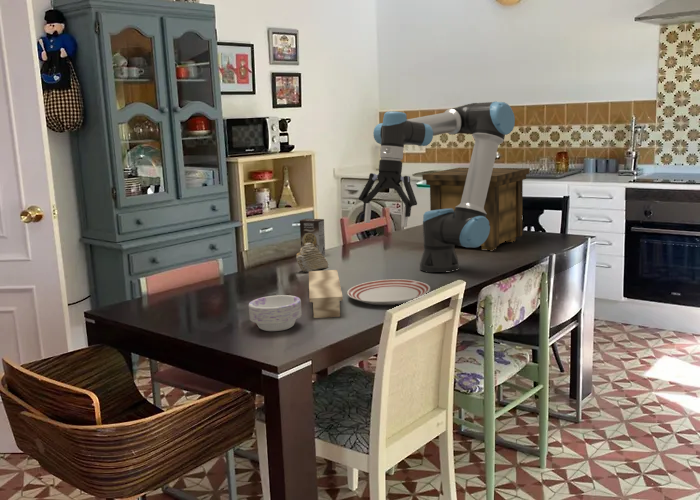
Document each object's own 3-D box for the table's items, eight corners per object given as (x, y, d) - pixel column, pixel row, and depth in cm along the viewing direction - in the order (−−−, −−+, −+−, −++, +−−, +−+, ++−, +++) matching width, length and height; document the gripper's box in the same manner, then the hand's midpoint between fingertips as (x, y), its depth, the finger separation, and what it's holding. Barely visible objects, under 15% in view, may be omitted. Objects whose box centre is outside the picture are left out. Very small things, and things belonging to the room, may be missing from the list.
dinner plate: (368, 314, 212) (368, 304, 211) (334, 295, 236) (334, 285, 236) (446, 301, 222) (446, 291, 222) (405, 284, 247) (405, 275, 246)
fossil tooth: (331, 271, 278) (301, 274, 267) (320, 268, 282) (291, 271, 272) (332, 242, 276) (303, 245, 266) (322, 240, 280) (293, 242, 270)
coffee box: (300, 257, 301) (298, 220, 298) (307, 254, 307) (305, 218, 304) (320, 257, 298) (318, 220, 295) (326, 254, 304) (324, 218, 300)
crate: (497, 254, 289) (497, 175, 283) (424, 247, 309) (422, 174, 303) (529, 239, 317) (529, 168, 311) (460, 234, 337) (459, 167, 331)
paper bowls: (254, 320, 211) (253, 294, 209) (304, 318, 210) (303, 293, 208) (246, 336, 196) (243, 308, 194) (299, 334, 195) (298, 307, 194)
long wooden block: (337, 286, 246) (337, 269, 245) (343, 316, 210) (342, 296, 209) (309, 288, 246) (308, 271, 245) (310, 318, 210) (309, 298, 208)
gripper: (352, 156, 229) (346, 221, 231) (421, 161, 217) (415, 228, 219) (363, 158, 235) (357, 221, 237) (430, 162, 223) (424, 228, 225)
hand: (385, 224), depth 228 cm, fingers open, 13 cm apart
